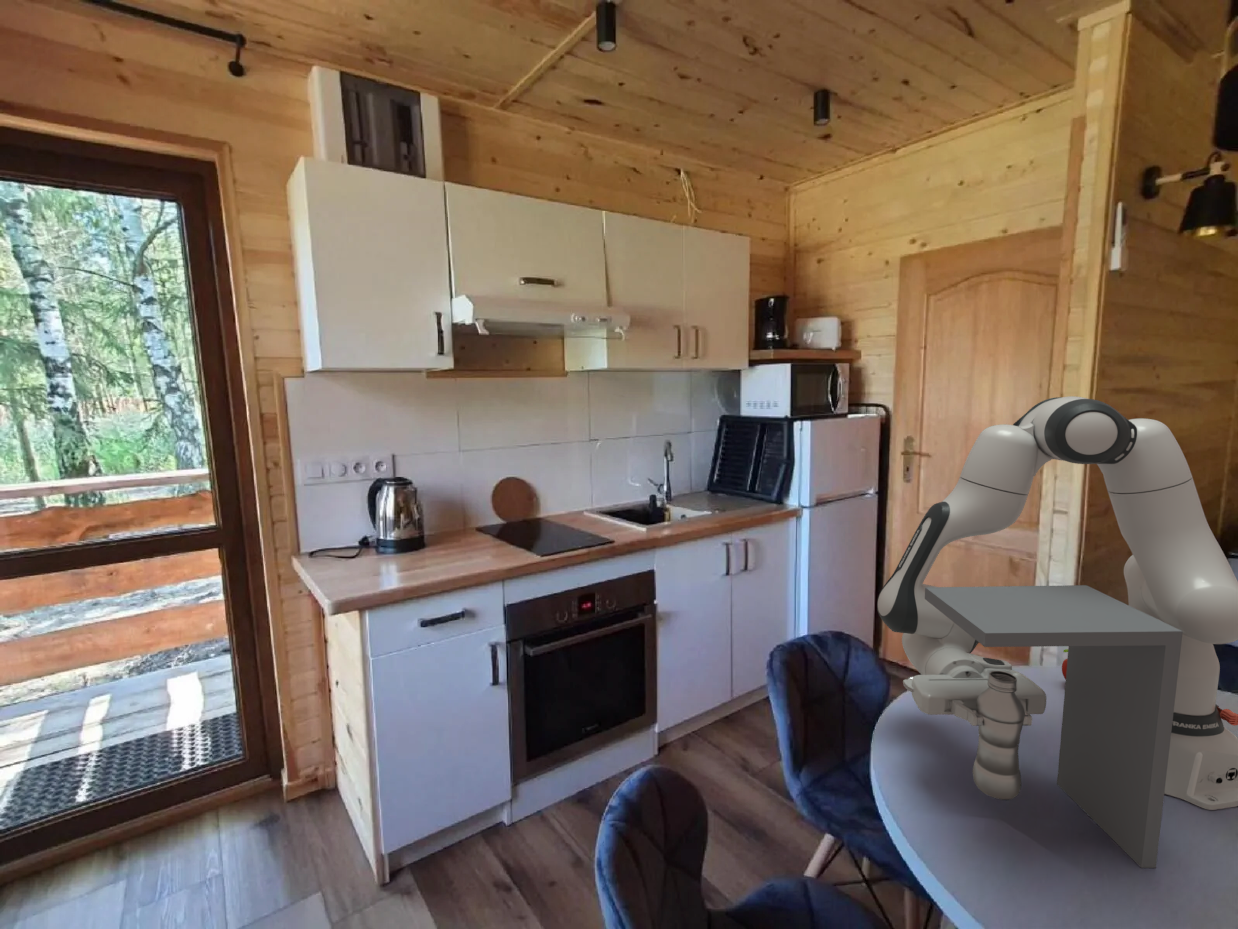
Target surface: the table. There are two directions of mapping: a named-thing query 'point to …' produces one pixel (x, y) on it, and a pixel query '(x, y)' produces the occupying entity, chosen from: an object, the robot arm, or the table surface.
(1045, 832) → the table surface
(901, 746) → the table surface
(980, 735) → the plastic bottle
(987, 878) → the table surface
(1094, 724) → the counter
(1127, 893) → the table surface
